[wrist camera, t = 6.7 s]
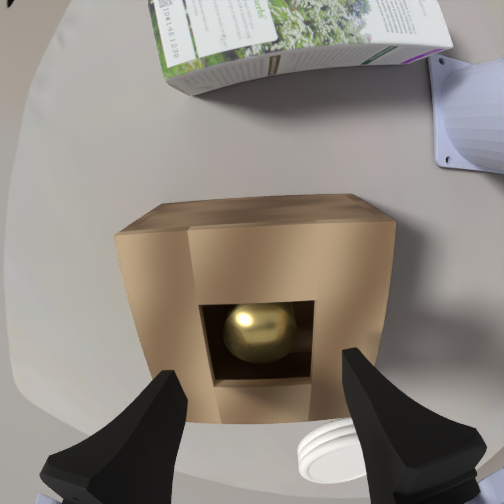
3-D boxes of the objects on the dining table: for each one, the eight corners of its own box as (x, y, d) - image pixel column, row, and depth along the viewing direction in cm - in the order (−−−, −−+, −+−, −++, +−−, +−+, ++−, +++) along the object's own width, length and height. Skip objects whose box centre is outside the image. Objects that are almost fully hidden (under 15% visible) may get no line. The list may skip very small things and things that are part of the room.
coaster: (336, 468, 29) (340, 490, 26) (278, 448, 27) (278, 474, 24) (401, 428, 26) (409, 450, 23) (348, 402, 25) (356, 430, 21)
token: (299, 279, 19) (311, 321, 15) (272, 323, 21) (275, 372, 16) (246, 254, 19) (241, 291, 14) (222, 302, 20) (211, 348, 15)
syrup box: (189, 98, 16) (410, 66, 15) (159, 83, 11) (460, 49, 9) (171, 22, 14) (386, -5, 13) (139, -15, 9) (424, -40, 7)
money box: (351, 193, 18) (396, 221, 11) (341, 349, 22) (361, 414, 16) (161, 203, 18) (114, 235, 12) (188, 355, 23) (168, 420, 16)
